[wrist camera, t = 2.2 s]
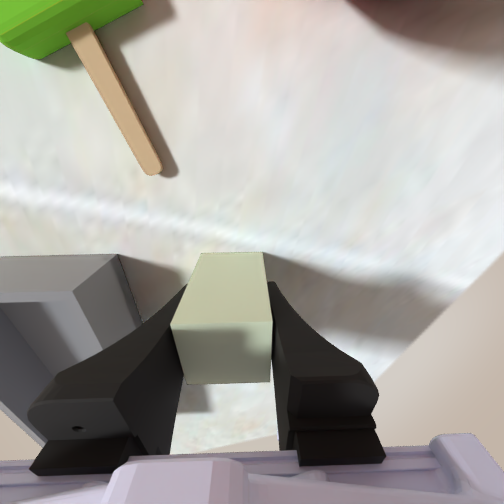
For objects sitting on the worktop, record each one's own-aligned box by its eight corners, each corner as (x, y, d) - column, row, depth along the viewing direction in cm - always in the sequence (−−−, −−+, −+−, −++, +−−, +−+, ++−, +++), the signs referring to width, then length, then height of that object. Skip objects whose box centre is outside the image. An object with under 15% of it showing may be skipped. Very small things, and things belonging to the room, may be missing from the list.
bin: (172, 406, 21) (158, 454, 18) (84, 408, 21) (53, 458, 18) (117, 254, 13) (71, 290, 10) (-28, 257, 13) (-125, 295, 10)
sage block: (261, 299, 15) (270, 382, 10) (208, 300, 15) (186, 384, 10) (262, 251, 13) (272, 321, 8) (201, 253, 13) (170, 324, 8)
